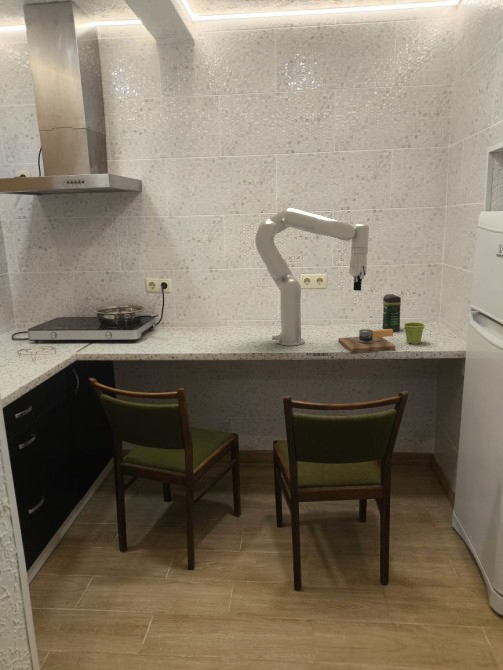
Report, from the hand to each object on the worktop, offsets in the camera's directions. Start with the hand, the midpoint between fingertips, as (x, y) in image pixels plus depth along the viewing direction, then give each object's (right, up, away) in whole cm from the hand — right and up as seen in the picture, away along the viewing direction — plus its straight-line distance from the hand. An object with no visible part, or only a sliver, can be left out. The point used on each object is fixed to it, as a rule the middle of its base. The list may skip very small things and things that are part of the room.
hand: (357, 290), depth 228 cm
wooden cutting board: (+2, -26, -7) cm, 27 cm away
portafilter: (+7, -23, -7) cm, 25 cm away
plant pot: (+25, -25, -4) cm, 36 cm away
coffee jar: (+22, -19, +22) cm, 36 cm away
